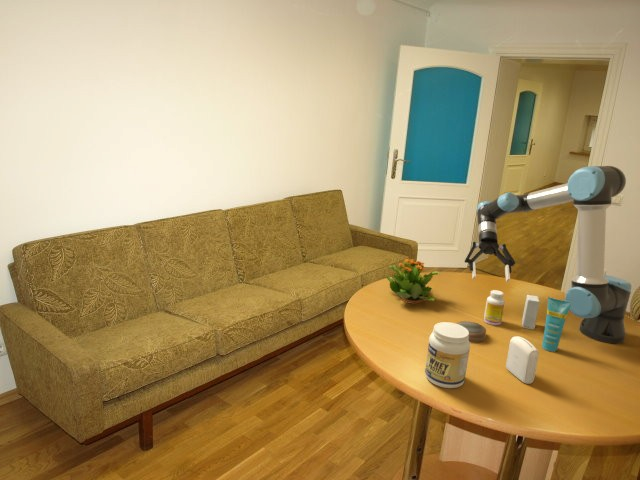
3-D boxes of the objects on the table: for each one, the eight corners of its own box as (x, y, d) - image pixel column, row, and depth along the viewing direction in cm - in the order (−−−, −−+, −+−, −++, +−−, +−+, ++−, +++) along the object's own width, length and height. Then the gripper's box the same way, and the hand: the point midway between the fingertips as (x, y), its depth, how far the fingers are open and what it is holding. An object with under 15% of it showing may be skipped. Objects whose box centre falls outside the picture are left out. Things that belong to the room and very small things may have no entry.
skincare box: (534, 330, 180) (539, 301, 176) (522, 328, 181) (527, 299, 178) (532, 323, 185) (538, 296, 182) (521, 321, 187) (526, 294, 183)
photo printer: (503, 367, 152) (509, 333, 149) (514, 366, 153) (520, 332, 150) (523, 385, 143) (530, 349, 139) (535, 383, 144) (542, 348, 140)
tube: (537, 348, 166) (547, 298, 161) (538, 342, 170) (548, 294, 165) (560, 354, 162) (571, 304, 157) (561, 348, 166) (572, 299, 161)
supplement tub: (416, 377, 144) (422, 327, 140) (437, 363, 153) (443, 316, 148) (451, 395, 136) (459, 343, 131) (471, 379, 144) (479, 330, 140)
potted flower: (451, 308, 196) (456, 269, 191) (403, 314, 188) (407, 274, 183) (418, 286, 219) (422, 251, 214) (374, 291, 210) (377, 255, 205)
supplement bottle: (502, 326, 181) (507, 296, 178) (484, 324, 183) (489, 294, 179) (499, 319, 188) (504, 290, 184) (482, 317, 189) (487, 288, 185)
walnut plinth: (491, 339, 171) (492, 331, 170) (469, 344, 166) (470, 336, 165) (469, 326, 180) (470, 318, 180) (448, 331, 176) (449, 323, 175)
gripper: (514, 240, 203) (519, 285, 193) (456, 236, 205) (458, 280, 195) (520, 232, 197) (525, 277, 186) (460, 227, 199) (462, 272, 189)
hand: (491, 279), depth 191 cm, fingers open, 13 cm apart
